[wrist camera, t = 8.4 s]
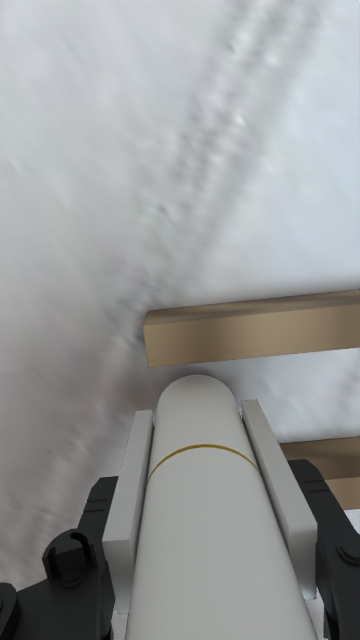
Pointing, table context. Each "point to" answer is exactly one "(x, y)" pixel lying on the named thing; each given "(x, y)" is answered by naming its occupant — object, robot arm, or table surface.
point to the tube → (210, 531)
